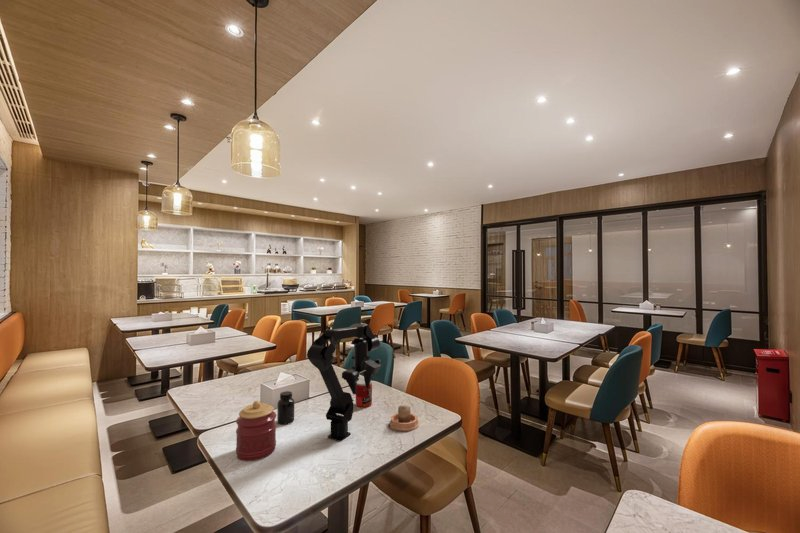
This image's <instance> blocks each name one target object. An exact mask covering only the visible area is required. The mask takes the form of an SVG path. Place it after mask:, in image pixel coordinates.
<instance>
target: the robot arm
mask: <svg viewBox="0 0 800 533" xmlns="http://www.w3.org/2000/svg"><path fill="white" fill-rule="evenodd" d="M350 338H354V339H353V340H352V341H351V343H350V344H351V345H354V348H353V349H354V354H353V355H352V357H351V359H353V360H354V361H353V362H354V365H352V366H351V369H345V370H344V371H342V372H341V379H343V380H344V381H346V383H347V384H348V386H349V389H350V390H351V391H350V392H346V391H344V389H343V388H342V385H341V382H340V380H339V378H338V375H337V373H336V372H335V371H336V370H335V368H334V366H333V361H334V353H335V351H336V350H337V342H338V340H343V339H350ZM328 341H329V344H328V345H327V346H326V345H325V344H326V343H327V342H328ZM380 346H381V342H380V339H379V338H378V337H377V334H376V333H373V331H372V329H371V327H370V324H368V323H367V324H366V323H353V324H351V325H350V326H348V327H342V328H341V327H339V328H332V329H329V328H327V329H325V330H324V331H323V333H322V334H321V335H320V336H319V337H318V338H316V339H314V340H313V343H312V344H311V345H310V346H309V348H308V350H307V353H306V354H307V355H306V356H307V359H308V360H309V362H310V363H311V364H312V365H313V366H314V367H315V368H317V369H318V371H319V373H320V376H321V378H322V379H323V383H324V385H325V387H326V389H327V390H328V393H329V396H330V401H329V405H330V406H329V407H328V410H327V412H326V414H325V417H326V420H329V421H330V433H329V434H328V435H327V438H329V439H332V440H336V441H338V442H342V441H343V440H344V439H346V438H347V437H349V436H351V435H352V434H351V432H349V424H348V423H349V422H350V421H352V419H353V414H354V407H355V406H354V405H355V404H354V399H353V397H352V395H355V396H356V386H357V381H358V380H360V378H359V377H360V374H363V379H364V380H365V385H366V388H369V385H370V382H371V381H372V379H373V375H375V374H378V373H379V371H380V369H381V368H382V361H381V359H380V358H377V359H375V360H372V358H371V356H370V355H368V354H369V352H372V351H374V350H377V349H378V348H380ZM351 392H352V394H351Z"/></svg>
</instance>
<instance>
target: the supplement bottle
mask: <svg viewBox="0 0 800 533" xmlns="http://www.w3.org/2000/svg"><path fill="white" fill-rule="evenodd" d="M276 406H277V407H276V408H277V411H276V412H277V413H276V417H277V418H276V419H277V420H276V421H277V424H279V425H282V426H286V425H290V424H292V423H294V421H295V399H294V398H293V392H292V391H288V390H287V391H286V390H285V391H282V392H280V394H279V399H278V401H277V405H276Z"/></svg>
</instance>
